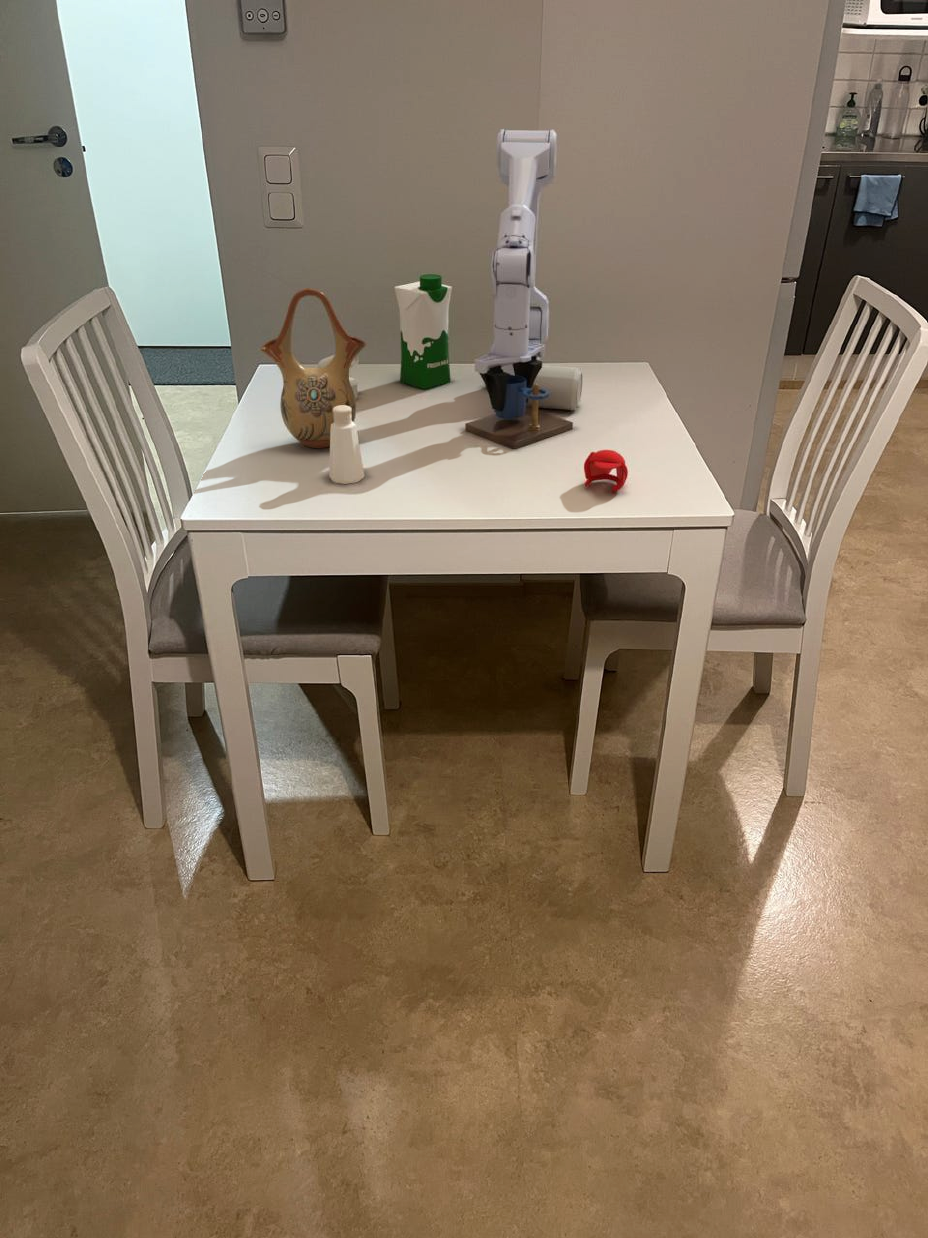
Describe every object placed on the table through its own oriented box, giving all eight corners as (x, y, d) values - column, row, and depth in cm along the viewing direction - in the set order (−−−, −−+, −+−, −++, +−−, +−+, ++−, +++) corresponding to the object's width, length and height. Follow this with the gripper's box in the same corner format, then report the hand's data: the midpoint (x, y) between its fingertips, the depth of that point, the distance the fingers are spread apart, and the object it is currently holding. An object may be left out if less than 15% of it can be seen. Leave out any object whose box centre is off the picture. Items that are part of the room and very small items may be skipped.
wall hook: (338, 355, 168) (297, 346, 173) (341, 408, 173) (301, 397, 178) (370, 344, 173) (329, 335, 178) (372, 395, 178) (333, 386, 183)
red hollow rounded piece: (579, 477, 145) (581, 440, 142) (617, 476, 146) (621, 439, 143) (588, 499, 139) (591, 460, 135) (629, 498, 139) (632, 459, 136)
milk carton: (424, 391, 180) (421, 282, 170) (392, 381, 186) (388, 274, 175) (457, 381, 186) (456, 274, 175) (426, 371, 191) (423, 267, 181)
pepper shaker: (331, 470, 148) (326, 401, 142) (366, 470, 148) (362, 401, 142) (326, 484, 144) (320, 413, 138) (362, 484, 143) (358, 413, 138)
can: (584, 380, 174) (519, 375, 177) (581, 359, 167) (514, 355, 170) (578, 417, 173) (513, 412, 175) (575, 398, 165) (507, 393, 168)
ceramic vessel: (369, 431, 162) (360, 279, 149) (373, 451, 155) (364, 292, 142) (271, 437, 160) (254, 283, 147) (271, 457, 153) (252, 296, 140)
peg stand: (465, 429, 163) (465, 378, 158) (523, 411, 171) (524, 362, 166) (514, 449, 155) (515, 396, 151) (572, 428, 163) (575, 377, 159)
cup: (487, 413, 164) (488, 379, 161) (510, 406, 167) (510, 372, 164) (532, 429, 157) (533, 394, 154) (554, 422, 160) (556, 387, 157)
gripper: (496, 338, 149) (495, 421, 156) (560, 322, 157) (556, 402, 164) (466, 329, 154) (466, 411, 161) (529, 314, 162) (527, 392, 169)
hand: (509, 405), depth 163 cm, fingers closed on cup, 5 cm apart
